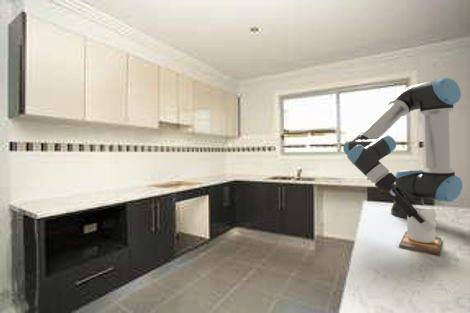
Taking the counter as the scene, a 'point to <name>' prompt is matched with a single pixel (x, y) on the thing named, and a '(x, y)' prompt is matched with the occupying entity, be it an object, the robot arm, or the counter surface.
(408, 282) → the counter surface
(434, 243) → the label board
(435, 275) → the counter surface
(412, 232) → the beverage can
